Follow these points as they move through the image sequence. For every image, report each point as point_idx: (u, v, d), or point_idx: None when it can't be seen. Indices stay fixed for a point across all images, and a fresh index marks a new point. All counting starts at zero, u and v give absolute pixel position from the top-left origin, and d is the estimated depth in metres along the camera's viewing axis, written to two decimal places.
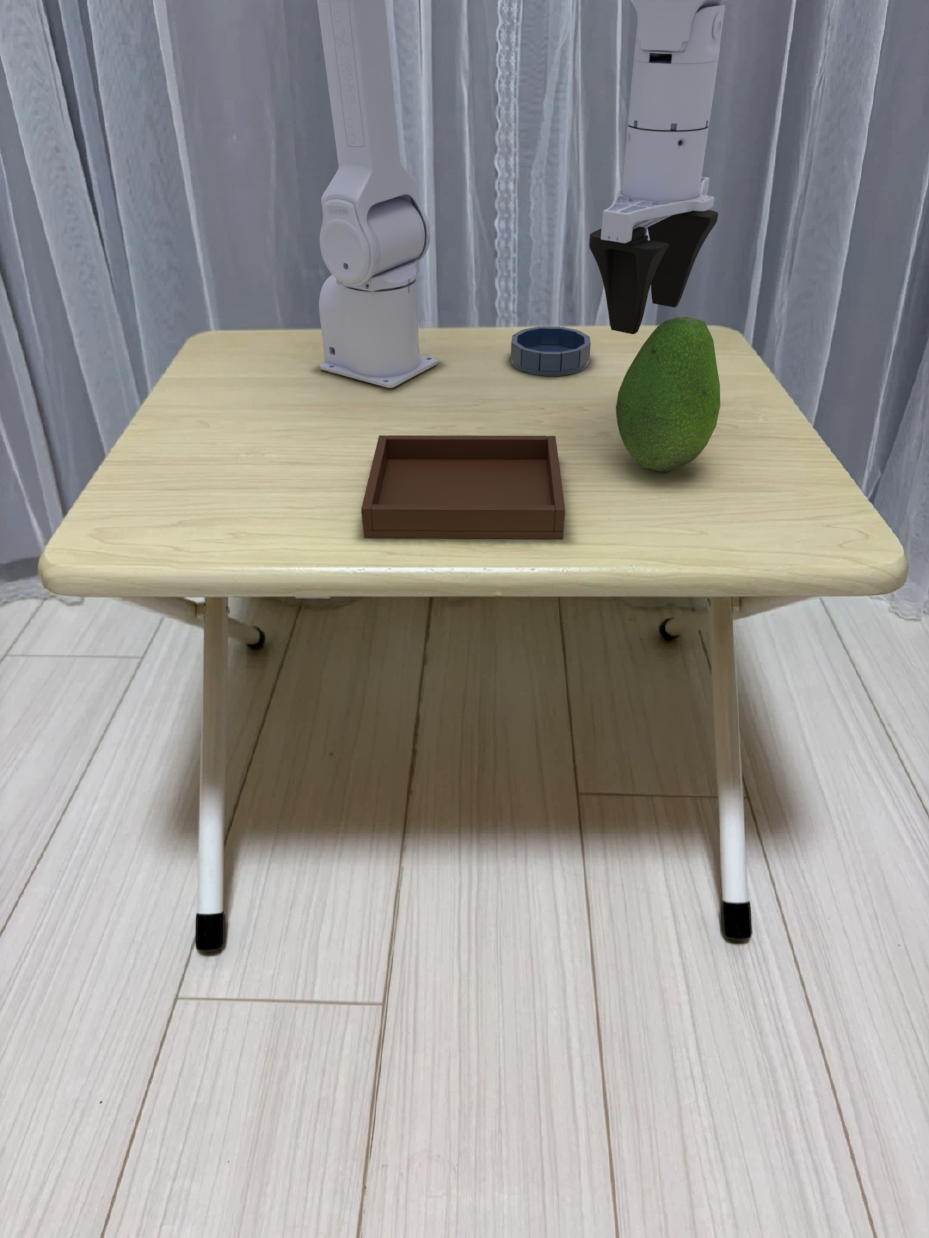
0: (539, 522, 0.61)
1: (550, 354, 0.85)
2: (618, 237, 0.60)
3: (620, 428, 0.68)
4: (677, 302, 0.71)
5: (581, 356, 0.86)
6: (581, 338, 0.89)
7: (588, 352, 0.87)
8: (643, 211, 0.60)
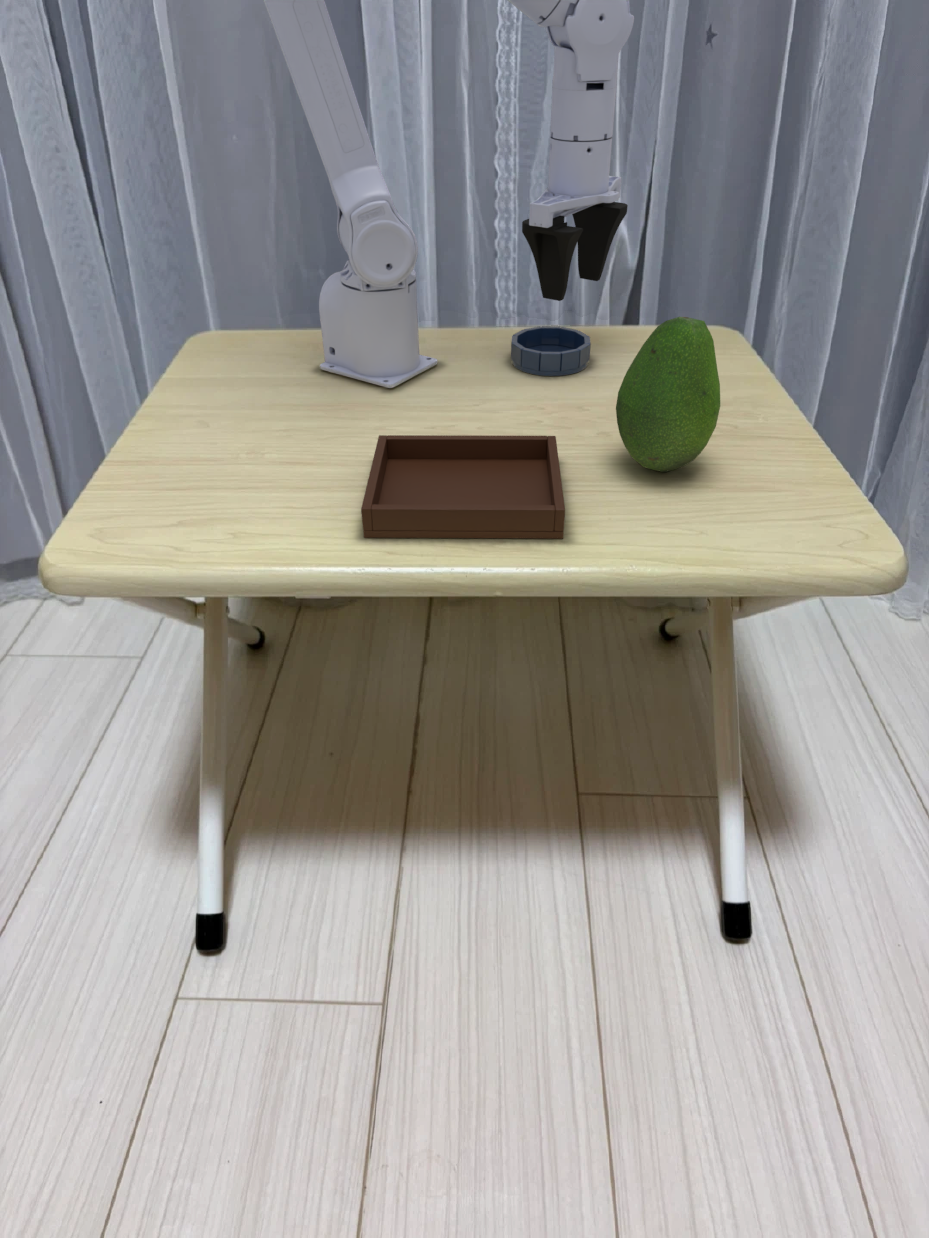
0: (539, 522, 0.61)
1: (550, 354, 0.85)
2: (542, 223, 0.78)
3: (620, 428, 0.68)
4: (598, 277, 0.89)
5: (581, 356, 0.86)
6: (581, 338, 0.89)
7: (588, 352, 0.87)
8: (561, 203, 0.78)
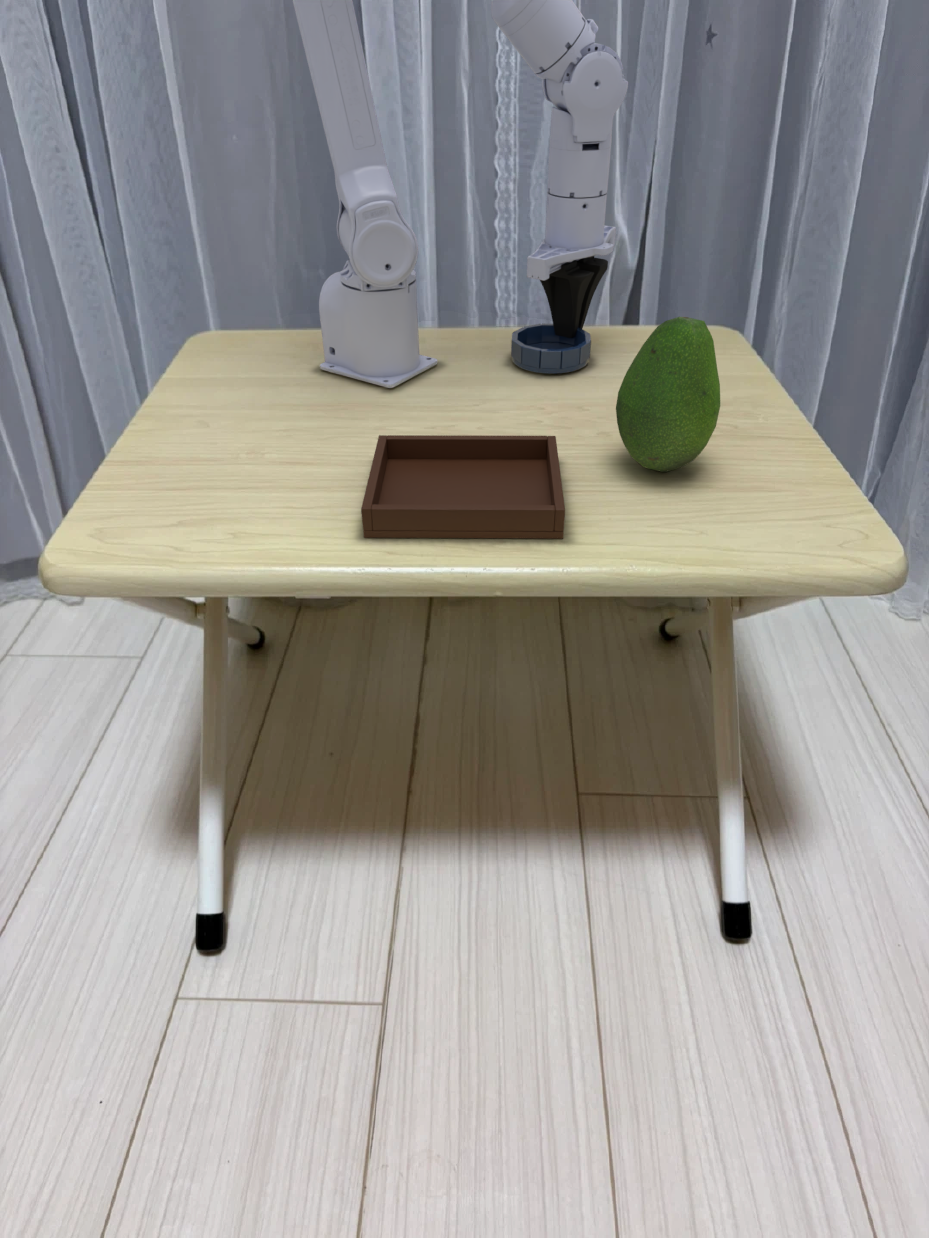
0: (539, 522, 0.61)
1: (550, 351, 0.85)
2: (539, 276, 0.81)
3: (620, 428, 0.68)
4: None
5: (581, 353, 0.86)
6: (581, 336, 0.89)
7: (588, 349, 0.87)
8: (557, 257, 0.81)
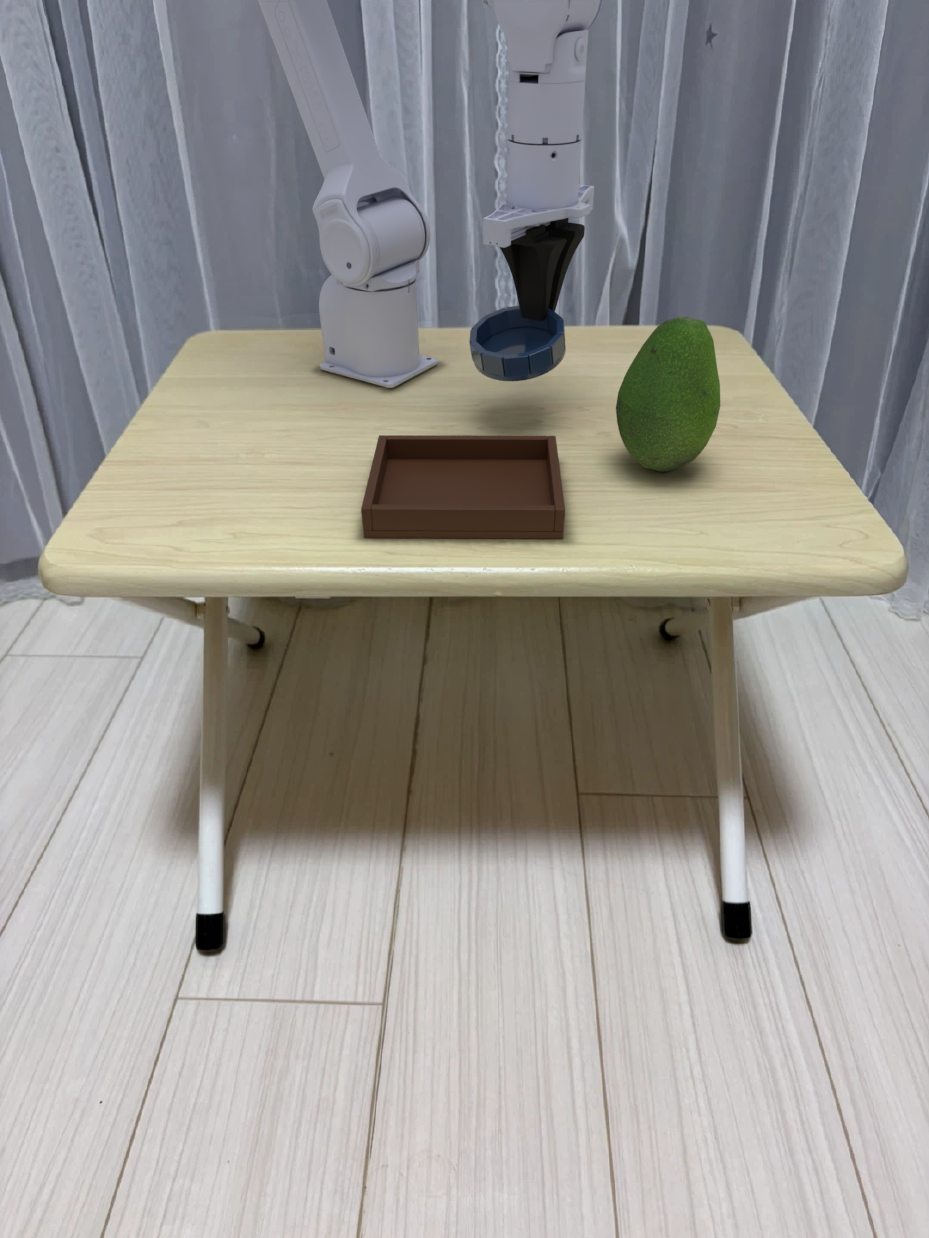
0: (539, 522, 0.61)
1: (515, 358, 0.70)
2: (498, 242, 0.66)
3: (620, 428, 0.68)
4: None
5: (553, 351, 0.71)
6: (553, 321, 0.74)
7: (562, 343, 0.72)
8: (520, 218, 0.65)
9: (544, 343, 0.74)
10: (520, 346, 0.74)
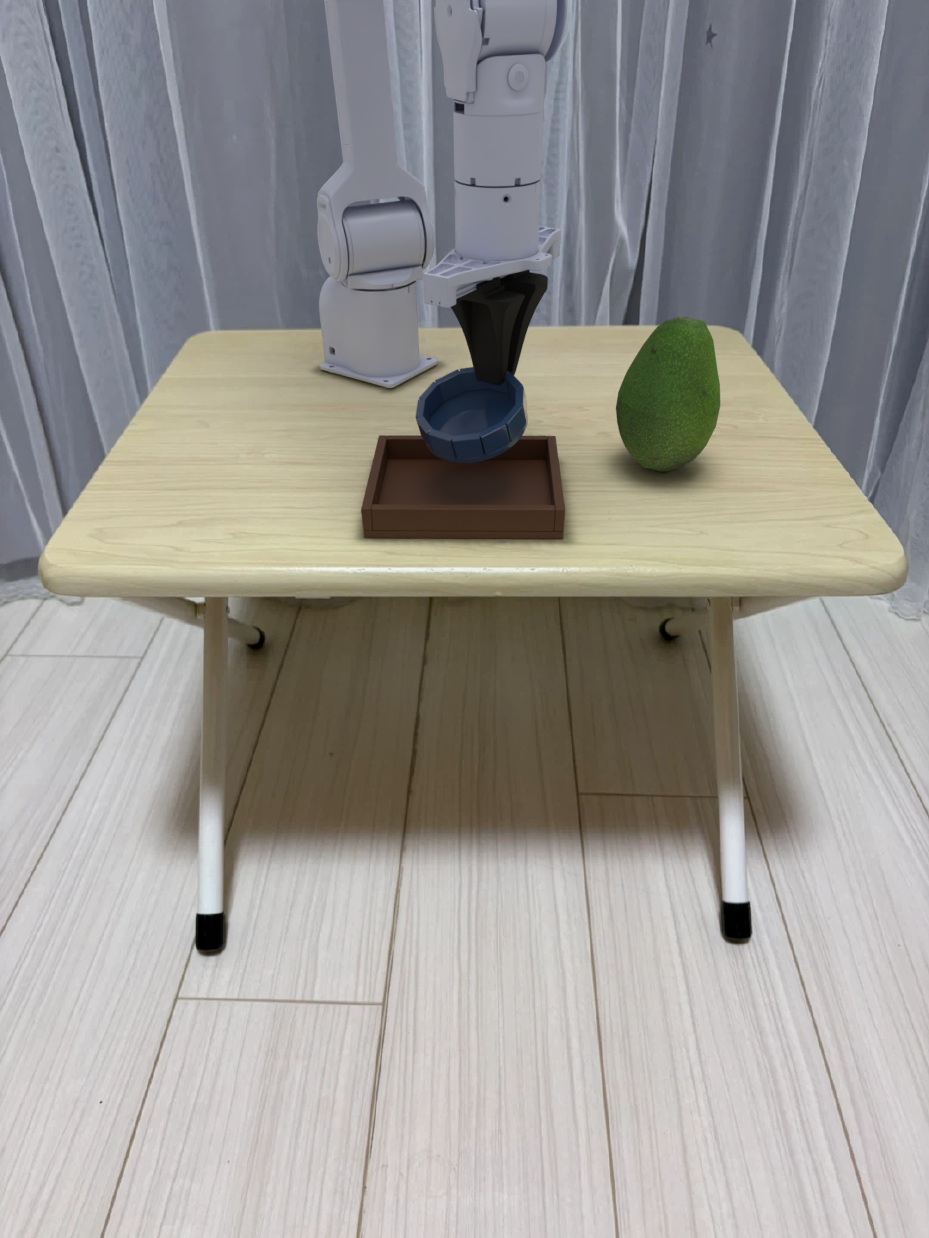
0: (539, 522, 0.61)
1: (465, 440, 0.61)
2: (440, 301, 0.55)
3: (620, 428, 0.68)
4: (512, 373, 0.65)
5: (511, 429, 0.61)
6: (512, 388, 0.63)
7: (522, 416, 0.62)
8: (467, 273, 0.55)
9: (503, 412, 0.64)
10: (476, 416, 0.65)
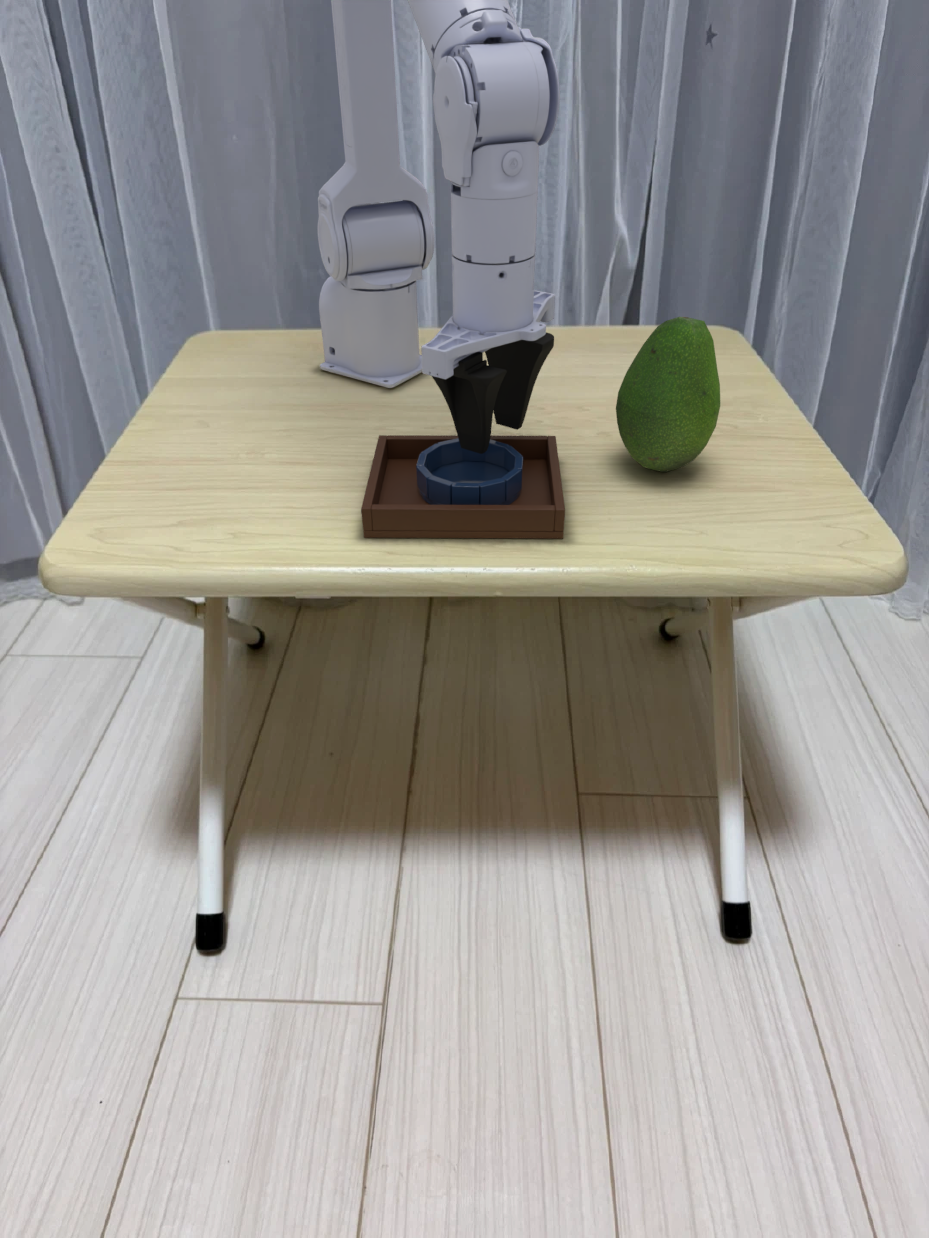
0: (539, 522, 0.61)
1: (464, 487, 0.62)
2: (438, 373, 0.58)
3: (620, 428, 0.68)
4: (520, 425, 0.68)
5: (508, 487, 0.64)
6: (512, 458, 0.67)
7: (519, 480, 0.65)
8: (464, 346, 0.57)
9: None
10: (472, 479, 0.67)
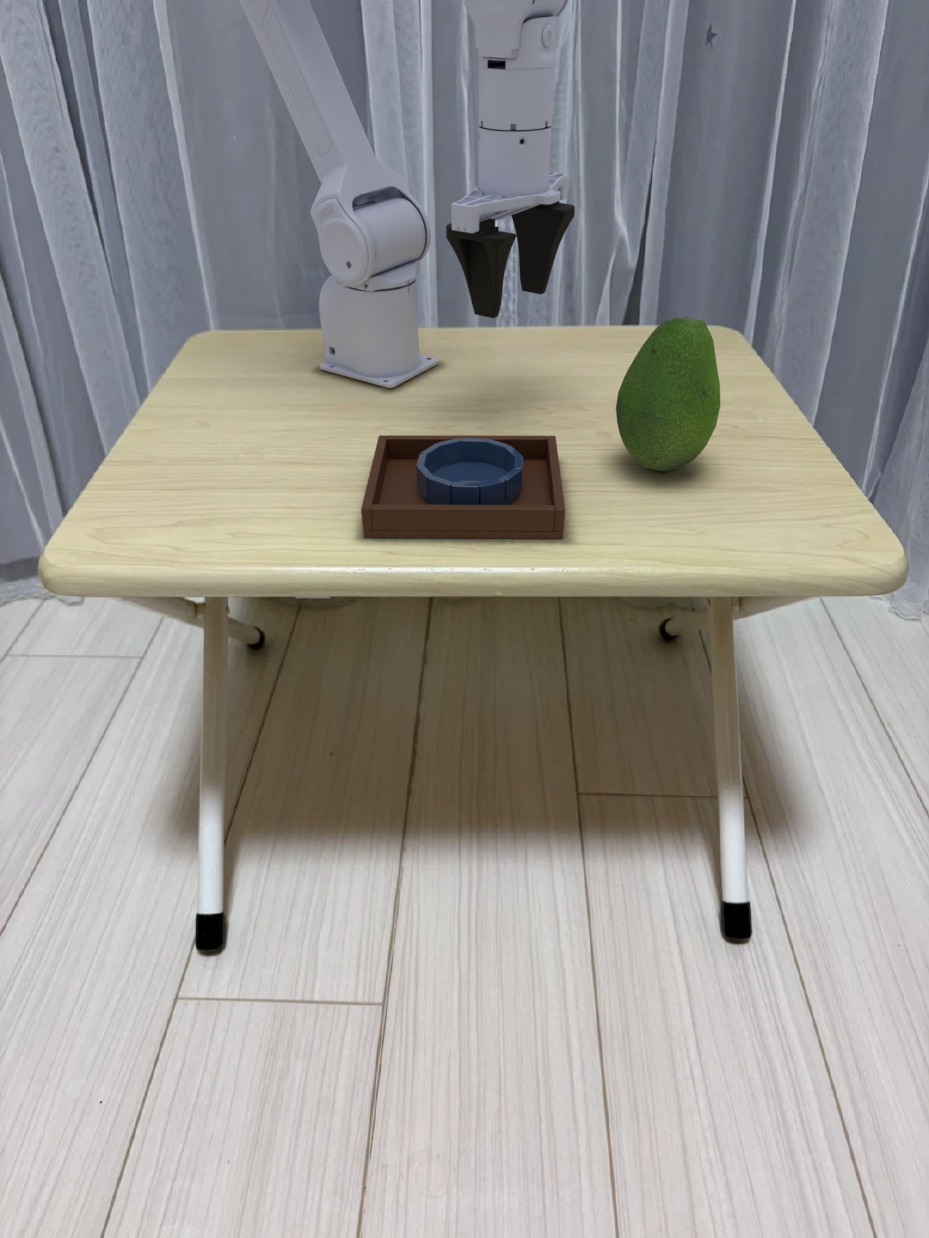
0: (539, 522, 0.61)
1: (464, 487, 0.62)
2: (466, 228, 0.66)
3: (620, 428, 0.68)
4: (543, 290, 0.77)
5: (508, 487, 0.64)
6: (512, 458, 0.67)
7: (519, 480, 0.65)
8: (488, 204, 0.66)
9: None
10: (472, 479, 0.67)
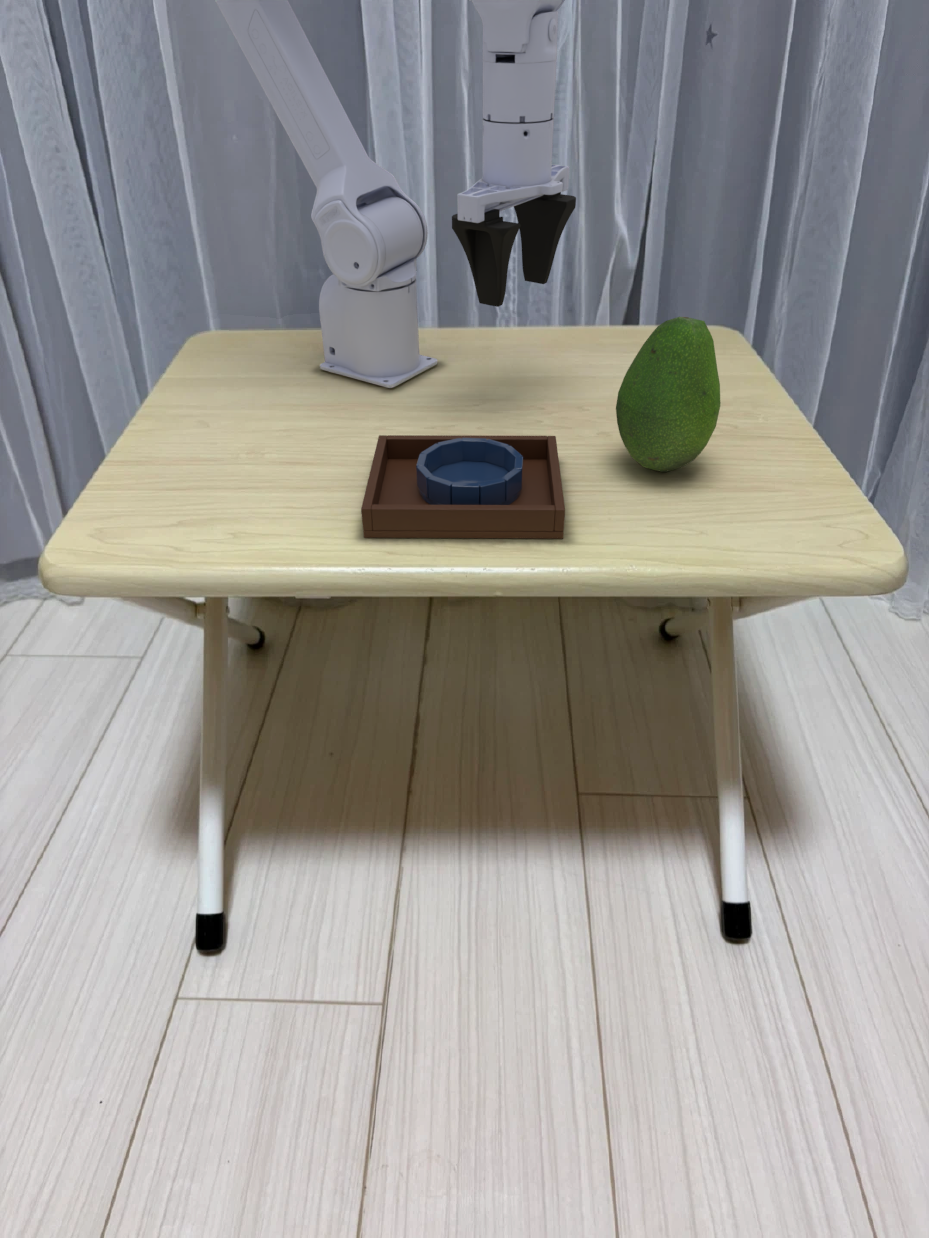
0: (539, 522, 0.61)
1: (464, 487, 0.62)
2: (471, 218, 0.68)
3: (620, 428, 0.68)
4: (545, 280, 0.79)
5: (508, 487, 0.64)
6: (512, 458, 0.67)
7: (519, 480, 0.65)
8: (493, 194, 0.68)
9: None
10: (472, 479, 0.67)
